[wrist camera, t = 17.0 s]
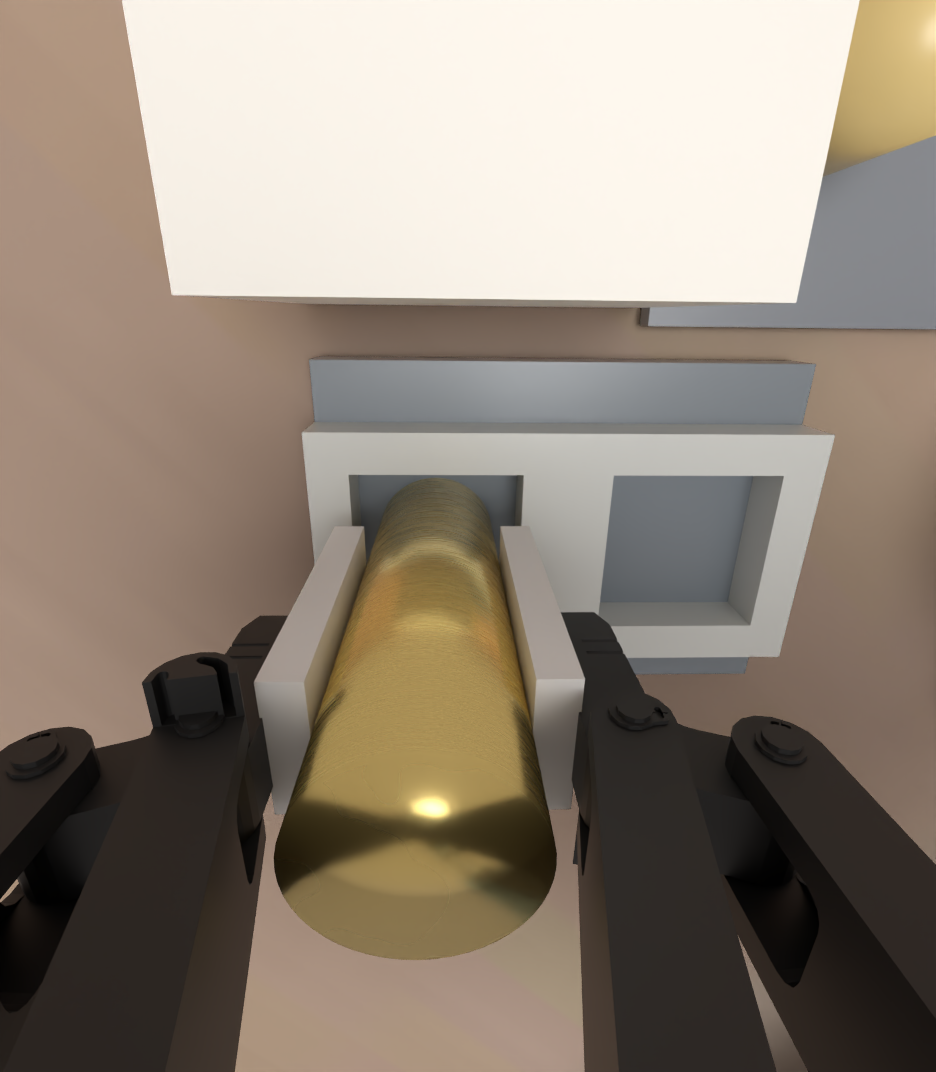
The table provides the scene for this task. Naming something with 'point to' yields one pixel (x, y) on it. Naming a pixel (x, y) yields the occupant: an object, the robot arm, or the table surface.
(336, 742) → the peg
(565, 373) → the board
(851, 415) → the table surface
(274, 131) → the block
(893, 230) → the tile
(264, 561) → the table surface
